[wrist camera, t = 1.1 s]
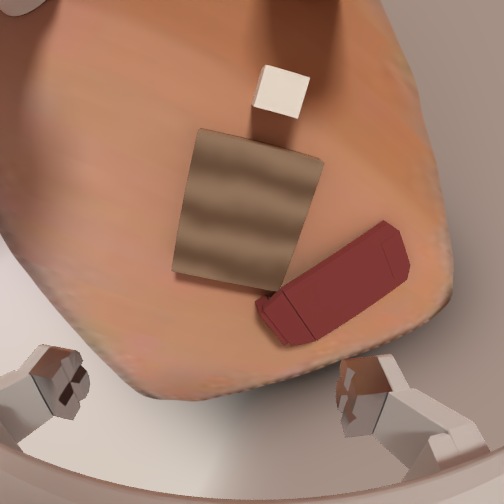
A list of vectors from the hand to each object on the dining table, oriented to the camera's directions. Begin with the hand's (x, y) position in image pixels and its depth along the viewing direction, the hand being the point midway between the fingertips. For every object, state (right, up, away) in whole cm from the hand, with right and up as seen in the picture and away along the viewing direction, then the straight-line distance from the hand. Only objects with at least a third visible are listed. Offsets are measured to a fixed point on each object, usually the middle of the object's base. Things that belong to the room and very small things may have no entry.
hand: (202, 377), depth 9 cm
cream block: (+4, +24, +28) cm, 37 cm away
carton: (+15, -1, +42) cm, 44 cm away
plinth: (0, +9, +35) cm, 36 cm away
